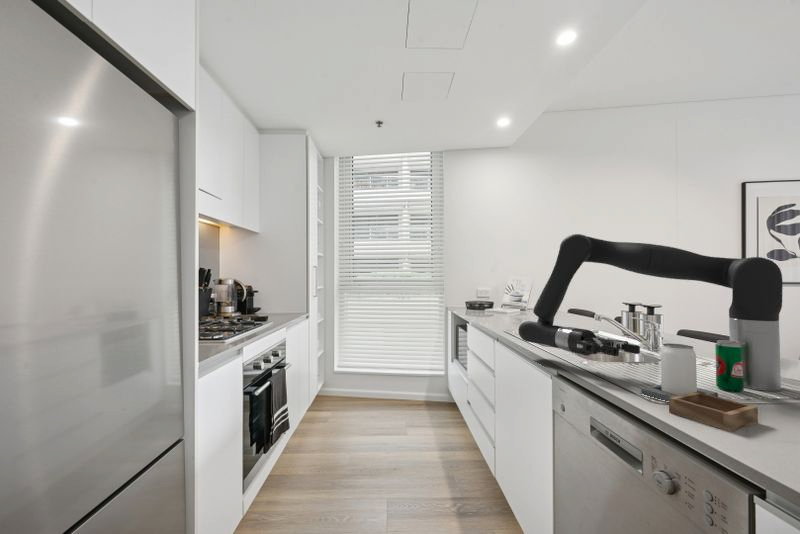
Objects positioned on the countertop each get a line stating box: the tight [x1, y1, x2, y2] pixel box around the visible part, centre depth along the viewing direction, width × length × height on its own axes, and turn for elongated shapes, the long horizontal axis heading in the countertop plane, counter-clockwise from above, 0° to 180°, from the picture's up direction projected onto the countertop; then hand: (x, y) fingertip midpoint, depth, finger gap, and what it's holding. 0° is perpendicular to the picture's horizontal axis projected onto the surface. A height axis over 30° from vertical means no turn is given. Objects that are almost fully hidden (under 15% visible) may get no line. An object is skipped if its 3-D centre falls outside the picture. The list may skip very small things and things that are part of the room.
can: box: [660, 342, 698, 395], centre depth 82 cm, size 6×6×12 cm
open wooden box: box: [668, 392, 759, 432], centre depth 70 cm, size 10×10×3 cm
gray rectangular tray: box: [640, 384, 719, 401], centre depth 82 cm, size 13×9×2 cm
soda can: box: [714, 339, 745, 393], centre depth 89 cm, size 5×5×12 cm
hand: (628, 351), depth 93 cm, fingers open, 8 cm apart
